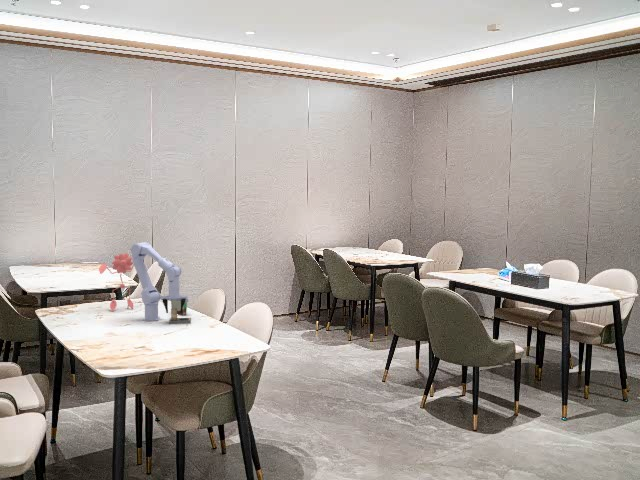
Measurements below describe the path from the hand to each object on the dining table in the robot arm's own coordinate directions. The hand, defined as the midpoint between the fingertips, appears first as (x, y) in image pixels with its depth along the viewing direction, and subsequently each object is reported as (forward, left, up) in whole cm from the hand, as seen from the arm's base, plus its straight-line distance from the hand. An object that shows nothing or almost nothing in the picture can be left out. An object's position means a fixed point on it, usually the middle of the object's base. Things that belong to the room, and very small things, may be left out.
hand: (174, 312), depth 345 cm
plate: (0, +3, -5) cm, 6 cm away
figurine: (-34, -32, -6) cm, 47 cm away
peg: (0, 0, -4) cm, 4 cm away
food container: (-23, +3, -6) cm, 23 cm away
